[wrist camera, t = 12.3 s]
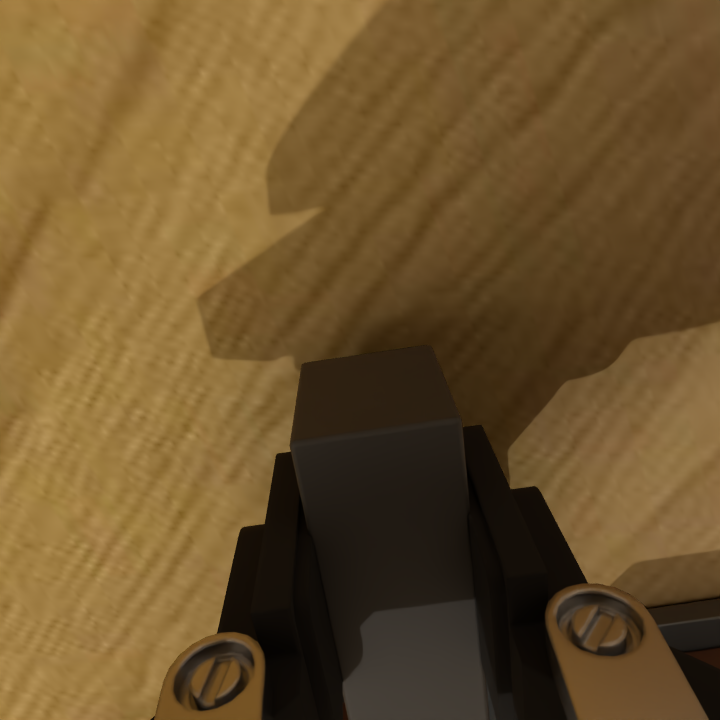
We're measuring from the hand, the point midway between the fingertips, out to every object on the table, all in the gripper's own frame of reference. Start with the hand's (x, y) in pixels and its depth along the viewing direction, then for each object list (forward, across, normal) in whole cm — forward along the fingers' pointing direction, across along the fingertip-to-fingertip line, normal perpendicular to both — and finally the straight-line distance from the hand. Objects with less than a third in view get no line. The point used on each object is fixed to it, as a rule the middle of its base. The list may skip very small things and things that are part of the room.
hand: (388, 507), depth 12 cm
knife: (0, 0, +6) cm, 6 cm away
